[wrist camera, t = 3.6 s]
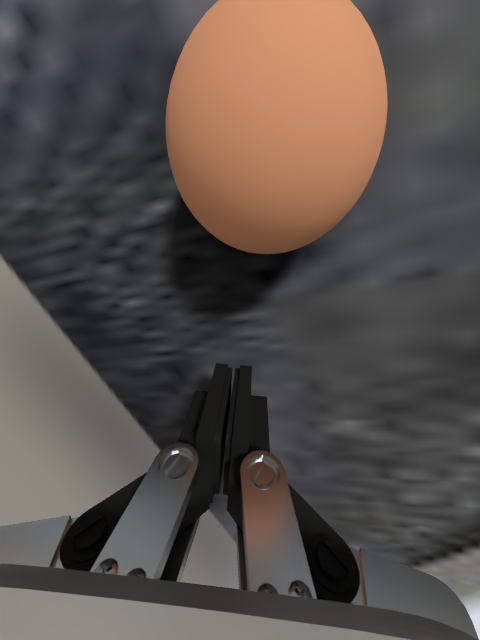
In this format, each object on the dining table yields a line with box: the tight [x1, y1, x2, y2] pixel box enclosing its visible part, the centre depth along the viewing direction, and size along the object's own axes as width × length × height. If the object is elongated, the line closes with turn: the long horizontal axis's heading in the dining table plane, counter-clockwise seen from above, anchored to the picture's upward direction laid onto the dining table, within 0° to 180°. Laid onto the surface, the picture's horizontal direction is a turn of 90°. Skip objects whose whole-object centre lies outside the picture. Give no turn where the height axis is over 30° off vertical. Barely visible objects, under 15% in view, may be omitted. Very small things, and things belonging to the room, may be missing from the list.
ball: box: [166, 0, 387, 254], centre depth 7 cm, size 6×6×6 cm
